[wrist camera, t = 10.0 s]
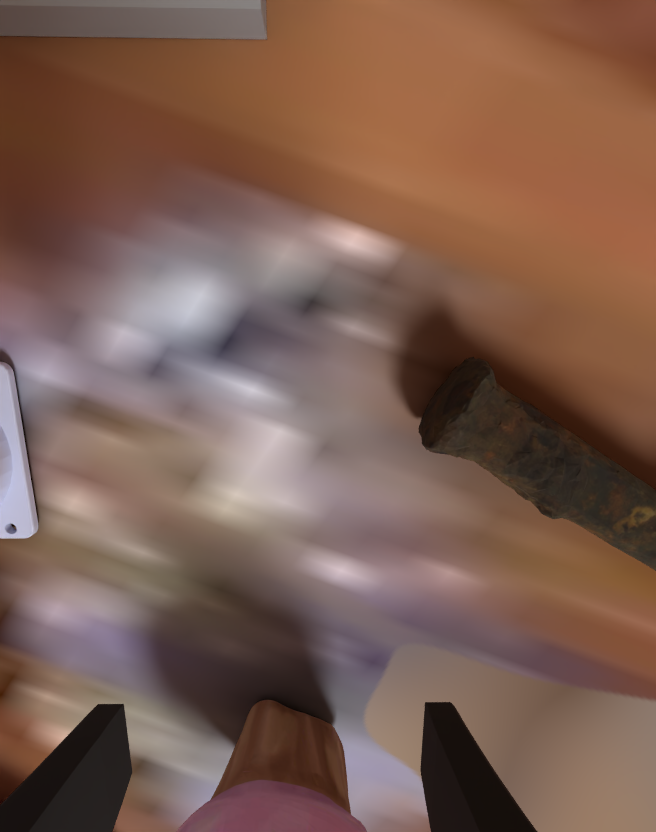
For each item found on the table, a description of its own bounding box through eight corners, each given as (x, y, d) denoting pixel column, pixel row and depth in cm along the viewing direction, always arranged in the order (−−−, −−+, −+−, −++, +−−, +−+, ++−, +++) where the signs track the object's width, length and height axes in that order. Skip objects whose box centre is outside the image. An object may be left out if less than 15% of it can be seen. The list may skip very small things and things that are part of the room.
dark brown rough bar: (402, 424, 19) (428, 457, 14) (457, 350, 18) (503, 360, 13) (696, 625, 21) (797, 707, 17) (754, 567, 21) (876, 637, 16)
